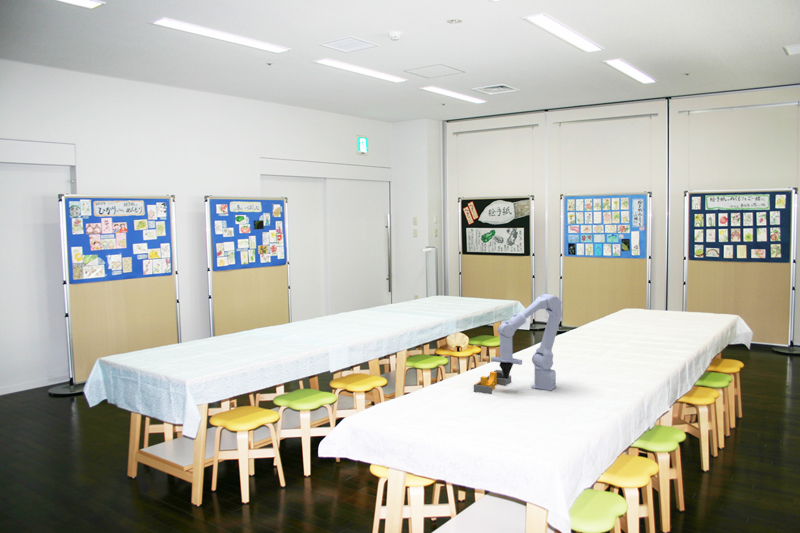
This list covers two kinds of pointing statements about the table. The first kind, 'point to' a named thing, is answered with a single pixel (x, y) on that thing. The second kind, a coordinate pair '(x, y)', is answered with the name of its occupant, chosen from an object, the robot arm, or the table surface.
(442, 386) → the table surface
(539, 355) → the robot arm
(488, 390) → the grey piece
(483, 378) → the pipe clamp
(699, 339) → the table surface
